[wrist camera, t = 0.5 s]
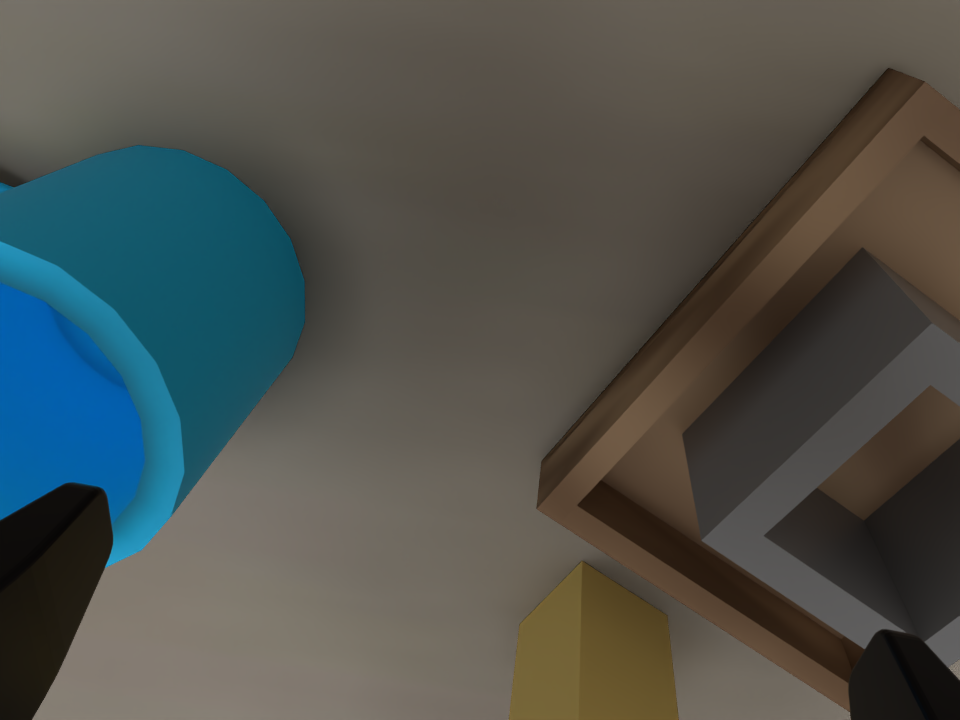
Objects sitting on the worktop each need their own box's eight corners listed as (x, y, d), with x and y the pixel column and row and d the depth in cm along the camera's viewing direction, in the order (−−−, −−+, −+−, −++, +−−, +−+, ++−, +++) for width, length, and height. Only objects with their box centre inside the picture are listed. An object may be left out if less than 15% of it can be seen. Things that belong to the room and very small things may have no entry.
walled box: (838, 657, 28) (859, 718, 26) (541, 461, 26) (536, 508, 24) (1235, 347, 22) (1308, 392, 20) (888, 67, 20) (925, 81, 18)
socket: (864, 558, 26) (920, 687, 21) (682, 433, 25) (701, 540, 20) (1059, 396, 23) (1174, 505, 18) (862, 247, 22) (932, 322, 17)
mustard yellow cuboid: (601, 675, 29) (603, 906, 22) (519, 624, 29) (494, 845, 22) (667, 615, 28) (692, 843, 21) (582, 560, 27) (577, 774, 20)
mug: (355, 249, 24) (247, 377, 17) (238, 451, 27) (107, 631, 20) (-39, 2, 22) (-350, 25, 15) (-110, 250, 26) (-391, 365, 18)
